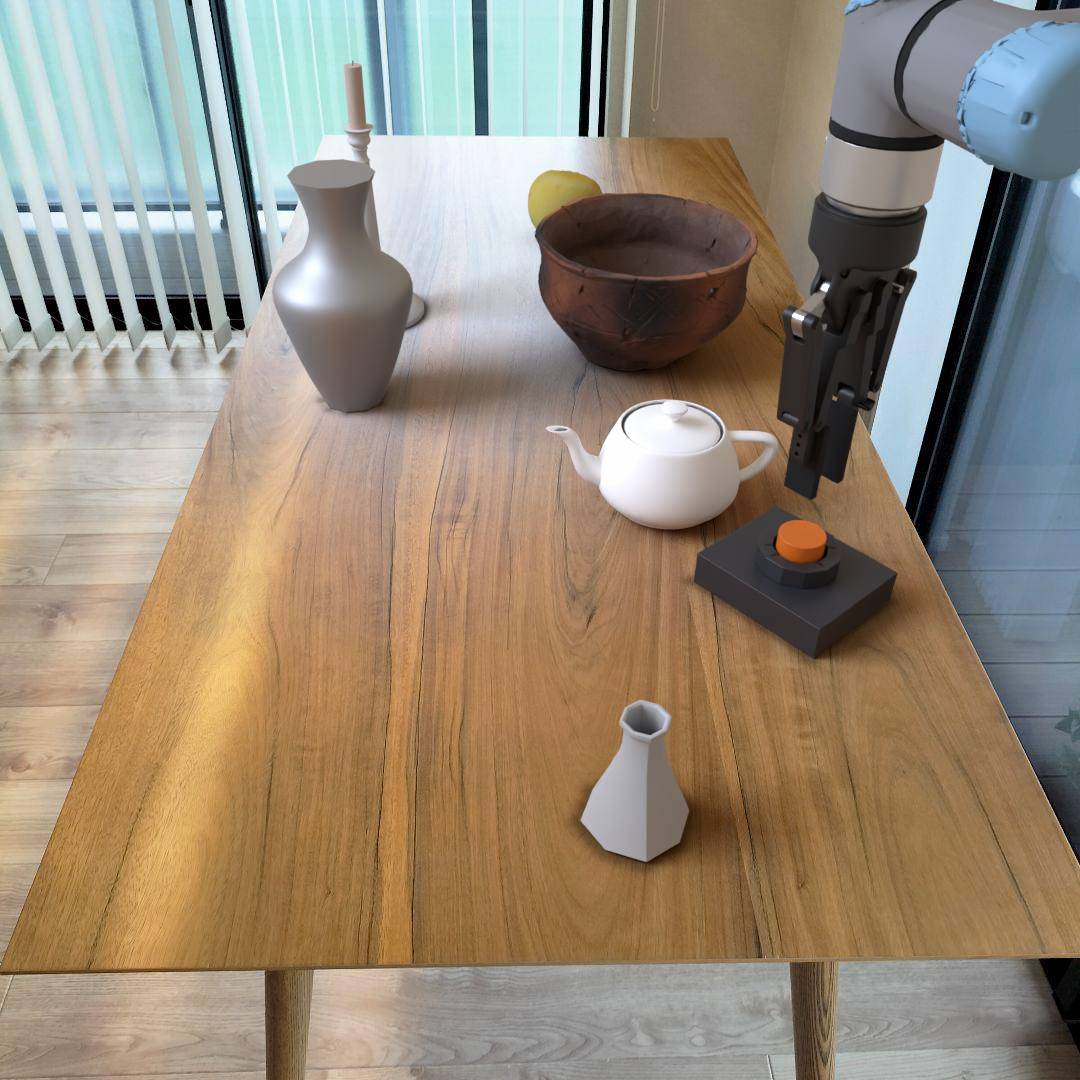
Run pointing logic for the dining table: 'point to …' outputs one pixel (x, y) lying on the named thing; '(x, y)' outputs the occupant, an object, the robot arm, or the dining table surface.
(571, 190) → the fruit
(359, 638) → the dining table surface
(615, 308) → the bowl
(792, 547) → the power button
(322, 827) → the dining table surface
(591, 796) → the flask
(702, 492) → the teapot
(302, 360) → the vase
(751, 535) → the button box
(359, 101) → the candlestick
